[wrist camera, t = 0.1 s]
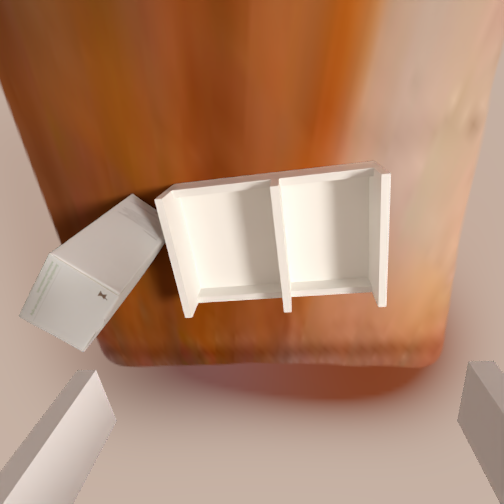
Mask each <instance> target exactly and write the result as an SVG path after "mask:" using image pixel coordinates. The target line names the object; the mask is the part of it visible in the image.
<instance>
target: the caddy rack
mask: <svg viewBox="0 0 504 504" xmlns="http://www.w3.org/2000/svg"><path fill="white" fill-rule="evenodd" d="M390 189H391V173H390V172H389V171H387V170H386V169H385V168H383V167H382V166H381V165H380V164H378V163H377V162H376V161H368V162H359V163H350V164H342V165H333V166H325V167H316V168H307V169H299V170H290V171H282V172H273V173H264V174H256V175H247V176H239V177H230V178H221V179H213V180H204V181H196V182H187V183H178V184H173V185H172V186H171V187H169V188H168V189H167V190H166V191H164V192H163V193H162V194H160V195H159V196H158V197H157V198H155V199H154V201H155V204H156V208H157V212H158V216H159V220H160V223H161V227H162V231H163V235H164V239H165V242H166V246H167V250H168V254H169V258H170V262H171V265H172V269H173V273H174V277H175V281H176V284H177V288H178V292H179V296H180V300H181V303H182V307H183V311H184V315H185V318H192V316H193V314H194V312H195V309H196V307H197V305H198V303H203V302H219V301H235V300H251V299H267V298H283V306H284V312H292V307H291V297H299V296H315V295H331V294H347V293H363V292H372V293H373V296H374V298H375V300H376V303H377V305H378V307H386V303H387V274H388V246H389V217H390Z"/></svg>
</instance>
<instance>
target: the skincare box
mask: <svg viewBox="0 0 504 504" xmlns="http://www.w3.org/2000/svg"><path fill="white" fill-rule="evenodd" d="M164 243H165V239H164V235H163V231H162V227H161V223H160V220H159V216H158V212H157V210H156V209H154V208H153V207H151V206H150V205H148V204H147V203H145V202H144V201H142V200H141V199H140V198H138V197H137V196H135V195H134V194H131V195H130V196H128V197H127V198H126V199H124V200H123V201H121V202H120V203H119V204H117V205H116V206H114V207H113V208H112V209H110V210H109V211H108V212H106V213H105V214H103V215H102V216H101V217H99V218H98V219H97V220H95V221H94V222H92V223H91V224H90V225H88V226H87V227H85V228H84V229H83V230H81V231H80V232H78V233H77V234H76V235H74V236H73V237H72V238H70V239H69V240H67V241H66V242H65V243H64V244H62V245H60V246H59V247H58V248H56V249H55V250H54V251H52V252H51V253H49V255H48V257H47V259H46V261H45V263H44V265H43V267H42V269H41V271H40V273H39V275H38V277H37V279H36V281H35V283H34V285H33V287H32V290H31V291H30V293H29V296H28V298H27V300H26V302H25V304H24V306H23V309H22V311H21V313H20V315H19V317H20V318H22V319H24V320H26V321H27V322H29V323H31V324H33V325H35V326H37V327H38V328H40V329H42V330H44V331H46V332H48V333H50V334H52V335H53V336H55V337H57V338H59V339H61V340H63V341H64V342H66V343H68V344H70V345H71V346H73V347H75V348H77V349H79V350H80V351H82V352H84V351H85V350H86V349H87V348H88V346H89V345H90V344H91V343H92V341H93V340H94V339H95V338H96V336H97V335H98V334H99V333H100V331H101V330H102V329H103V327H104V326H105V325H106V323H107V322H108V321H109V319H110V318H111V317H112V316H113V314H114V313H115V312H116V310H117V309H118V308H119V306H120V305H121V304H122V302H123V301H124V300H125V298H126V297H127V296H128V294H129V293H130V292H131V290H132V289H133V288H134V286H135V285H136V284H137V282H138V281H139V280H140V278H141V277H142V275H143V274H144V273H145V271H146V270H147V269H148V267H149V266H150V264H151V263H152V262H153V260H154V259H155V257H156V256H157V254H158V253H159V251H160V250H161V248H162V247H163V245H164Z"/></svg>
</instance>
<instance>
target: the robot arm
mask: <svg viewBox="0 0 504 504" xmlns="http://www.w3.org/2000/svg"><path fill="white" fill-rule="evenodd" d="M116 421H117V420H116V418H115V415H114V413H113V410H112V408H111V406H110V403H109V401H108V398H107V396H106V393H105V391H104V389H103V386H102V384H101V381H100V379H99V376H98V374H97V372H96V370H77V372H76V373H75V374H74V376H73V377H72V378H71V379H70V381H69V382H68V383H67V385H66V386H65V387H64V389H63V390H62V391H61V393H60V394H59V395H58V397H57V398H56V399H55V400H54V402H53V403H52V404H51V406H50V407H49V408H48V410H47V411H46V412H45V414H44V415H43V416H42V418H41V419H40V420H39V421H38V423H37V424H36V426H35V427H34V428H33V429H32V431H31V432H30V433H29V435H28V436H27V437H26V439H25V440H24V441H23V442H22V444H21V445H20V447H19V448H18V449H17V451H16V452H15V453H14V454H13V456H12V457H11V458H10V460H9V461H8V462H7V464H6V465H5V466H4V468H3V469H2V470H1V472H0V504H73V503H74V501H75V499H76V497H77V495H78V493H79V492H80V490H81V488H82V486H83V484H84V482H85V480H86V478H87V476H88V474H89V472H90V471H91V469H92V467H93V465H94V463H95V461H96V459H97V457H98V455H99V453H100V451H101V450H102V448H103V446H104V444H105V442H106V440H107V438H108V436H109V434H110V432H111V430H112V429H113V427H114V424H115V423H116ZM457 421H458V423H459V425H460V426H461V428H462V430H463V433H464V435H465V436H466V438H467V440H468V442H469V444H470V446H471V448H472V450H473V452H474V454H475V456H476V458H477V460H478V461H479V463H480V465H481V467H482V469H483V471H484V473H485V475H486V477H487V479H488V481H489V483H490V485H491V487H492V488H493V490H494V492H495V494H496V496H497V498H498V500H499V502H500V504H504V373H503V372H502V371H501V370H500V368H499V367H498V366H497V364H496V363H495V362H494V361H474V362H473V361H472V362H468V366H467V371H466V377H465V382H464V388H463V393H462V398H461V404H460V409H459V415H458V419H457Z"/></svg>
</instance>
